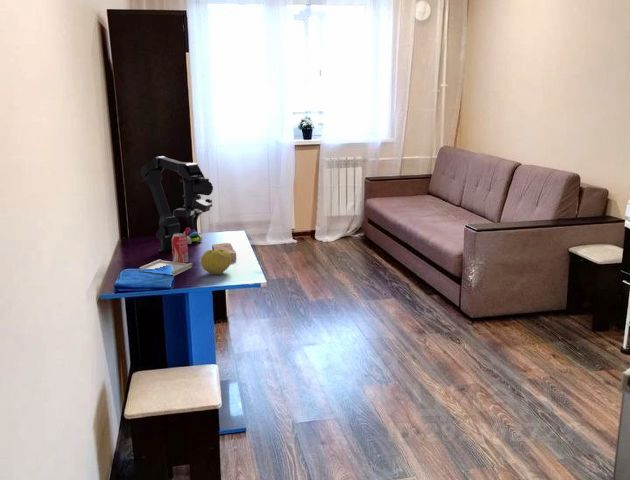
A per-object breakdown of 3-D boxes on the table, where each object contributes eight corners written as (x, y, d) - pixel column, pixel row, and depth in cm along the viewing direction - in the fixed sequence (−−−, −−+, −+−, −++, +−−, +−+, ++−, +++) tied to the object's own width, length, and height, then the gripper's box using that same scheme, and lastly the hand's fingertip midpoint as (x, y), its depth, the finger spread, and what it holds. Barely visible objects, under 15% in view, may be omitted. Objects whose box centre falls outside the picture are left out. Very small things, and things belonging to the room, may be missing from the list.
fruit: (233, 277, 227) (232, 252, 225) (201, 279, 225) (200, 253, 223) (231, 269, 238) (230, 244, 235) (201, 270, 236) (200, 246, 233)
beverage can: (174, 261, 249) (172, 233, 246) (189, 260, 250) (187, 232, 247) (172, 265, 243) (170, 236, 240) (187, 264, 244) (185, 236, 241)
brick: (237, 262, 248) (236, 251, 247) (217, 264, 246) (216, 253, 245) (230, 252, 264) (230, 242, 263) (211, 254, 261) (211, 243, 260)
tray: (139, 271, 235) (139, 267, 234) (159, 263, 246) (159, 259, 246) (173, 276, 229) (173, 272, 228) (192, 267, 241) (192, 263, 240)
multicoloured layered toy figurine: (193, 239, 286) (193, 224, 284) (204, 243, 279) (204, 228, 278) (178, 242, 281) (177, 227, 279) (189, 246, 274) (188, 230, 272)
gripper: (195, 197, 238) (196, 236, 241) (219, 190, 254) (220, 226, 258) (171, 196, 242) (173, 233, 245) (197, 189, 258) (198, 224, 262)
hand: (192, 229), depth 253 cm, fingers closed
